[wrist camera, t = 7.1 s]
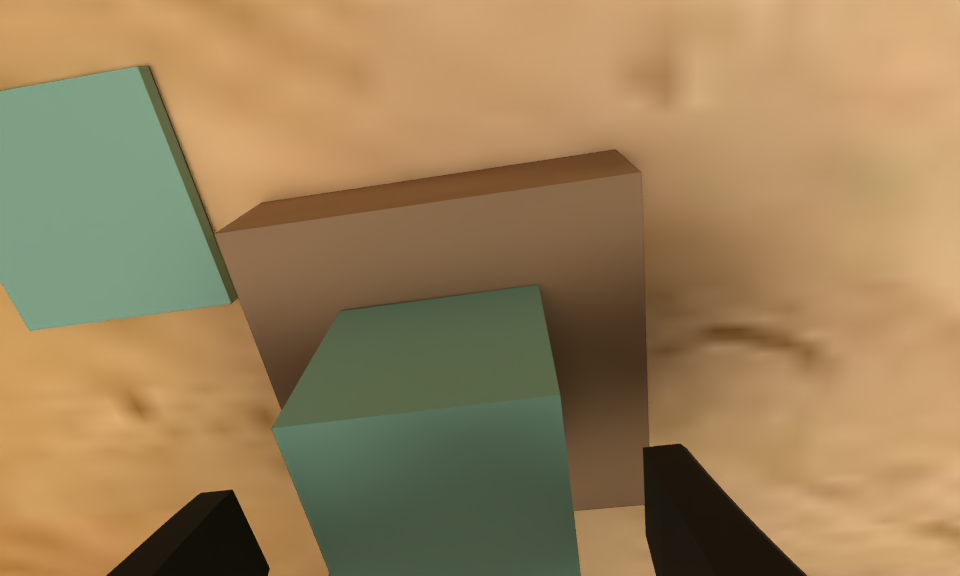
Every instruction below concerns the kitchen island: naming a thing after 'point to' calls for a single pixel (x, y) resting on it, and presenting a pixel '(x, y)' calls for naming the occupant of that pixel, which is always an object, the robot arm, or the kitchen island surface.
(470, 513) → the teal block
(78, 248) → the teal square tile
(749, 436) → the kitchen island surface
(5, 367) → the kitchen island surface
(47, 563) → the kitchen island surface
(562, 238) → the walnut block
